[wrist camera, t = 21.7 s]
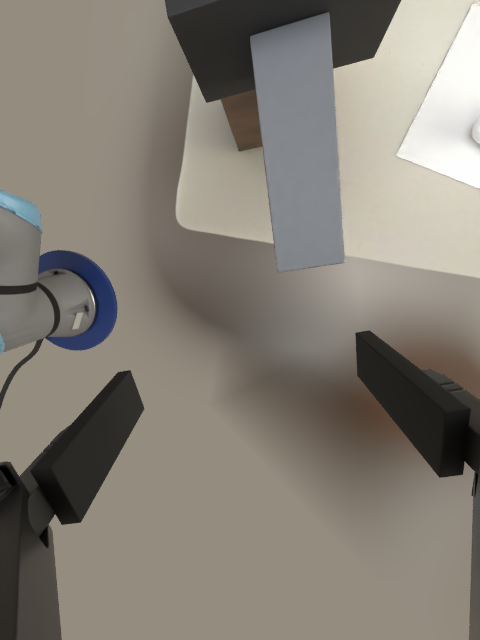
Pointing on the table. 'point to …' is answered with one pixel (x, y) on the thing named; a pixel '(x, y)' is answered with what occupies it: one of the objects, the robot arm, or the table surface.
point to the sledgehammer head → (287, 99)
